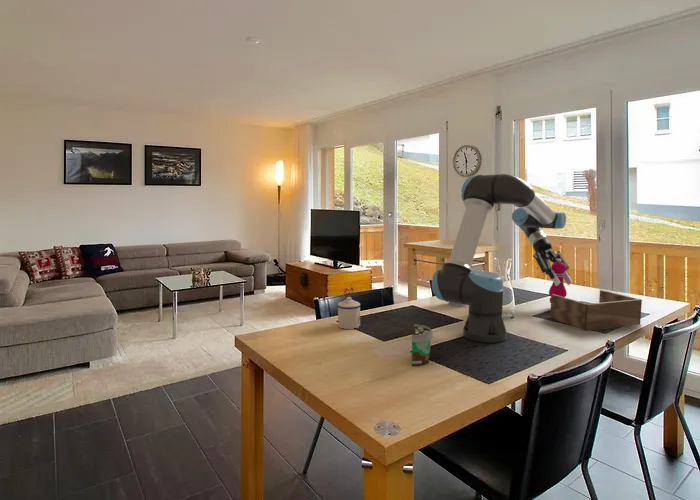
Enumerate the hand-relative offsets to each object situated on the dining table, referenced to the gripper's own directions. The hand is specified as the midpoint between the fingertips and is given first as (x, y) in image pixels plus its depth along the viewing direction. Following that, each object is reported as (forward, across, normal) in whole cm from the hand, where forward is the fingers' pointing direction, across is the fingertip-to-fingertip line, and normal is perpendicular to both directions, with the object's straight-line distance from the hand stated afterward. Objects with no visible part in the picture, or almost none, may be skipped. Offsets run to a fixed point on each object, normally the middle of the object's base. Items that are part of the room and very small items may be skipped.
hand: (564, 283), depth 193 cm
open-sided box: (+20, 0, +3) cm, 20 cm away
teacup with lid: (+3, +96, -14) cm, 97 cm away
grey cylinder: (-8, +35, -26) cm, 44 cm away
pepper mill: (+4, 0, -9) cm, 10 cm away
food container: (+34, +84, +17) cm, 93 cm away
